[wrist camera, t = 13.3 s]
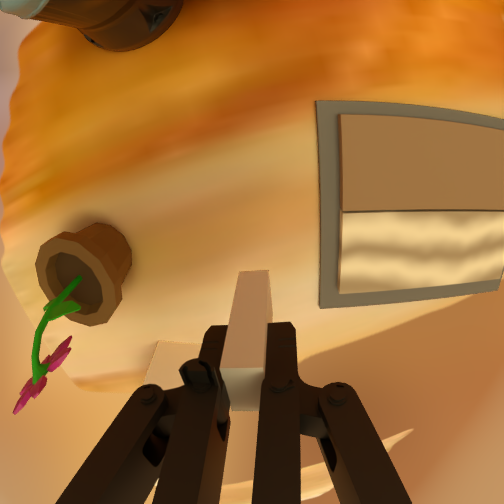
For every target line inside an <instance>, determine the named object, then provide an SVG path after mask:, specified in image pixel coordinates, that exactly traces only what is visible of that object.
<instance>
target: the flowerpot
mask: <svg viewBox="0 0 504 504" xmlns="http://www.w3.org/2000/svg"><path fill="white" fill-rule="evenodd" d="M131 265H132V258H131V249H130V247H129V245H128V243H127V241H126V239H125V237H124V236H123V235H122V234H121V233H120V232H118V231H117V230H116V229H115V228H113V227H112V226H111V225H106V224H100V223H95V224H93V225H91V226H89V227H87V228H85V229H83V230H81V231H79V232H77V233H70V232H65V231H64V232H62V233H60V234H58V235H57V236H55V237H53V238H51V239H49V240H48V241H47V242H45V243H44V244H43V245H41V246H40V250H39V253H38V256H37V259H36V262H35V266H36V271H37V276H38V281H39V285H40V287H41V289H42V290H43V292H44V293H45V295H46V297H47V298H48V300H49V301H50V302H49V303H48V304H47V305H46V306H45V307H44V308H43V309H44V312H45V311H46V312H45V314H44V316H43V318H42V320H41V322H40V323H39V325H38V327H37V329H36V331H35V337H34V343H33V350H32V370H33V377H32V378H30V379H29V380H28V381H27V383H26V384H25V386H24V387H23V389H22V391H21V392H20V395H22V396H21V397H20V399H19V400H18V401H17V404H16V406H15V408H14V411H13V414H17V413H18V412H19V411H20V410H21V409H22V408H23V407H24V406H25V404H26V403H27V401H28V400H29V398H30V397H31V396H32V397H33V398H34V399H35V398H36V397H37V396H38V395H39V394H40V392H41V391H42V389H43V388H44V387H45V386H46V382H47V378H46V377H45V375H46V374H47V372H48V371H49V372H53V371H54V370H55V369H56V368H57V367H59V366H60V365H61V364H62V362H63V361H64V359H65V358H66V357H67V355H68V354H69V352H70V351H71V348H70V347H69V348H67V347H68V346H69V343H70V341H71V339H72V336H69V337H68V338H67V339H66V340H65V341H63V342H62V343H61V344H60V345H59V346H58V348H57V349H56V350H55V351H54V353H53V354H52V355H51V356H50V355H48V356H47V357H46V359H45V360H44V361H43V362H42V363H41V364H40V361H39V351H40V344H41V337H42V334H43V331H44V329H45V327H46V325H47V323H48V321H51V320H54V319H56V318H59V317H61V316H63V315H64V316H66V317H67V318H68V319H69V320H71V321H74V322H77V323H80V324H84V325H87V326H95V325H99V324H103V323H107V322H108V320H109V319H110V317H111V316H112V314H113V313H114V311H115V310H116V308H117V307H118V305H119V304H120V302H121V300H122V291H121V285H122V283H123V281H124V279H125V277H126V275H127V273H128V271H129V269H130V267H131Z"/></svg>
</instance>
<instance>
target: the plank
mask: <svg viewBox="0 0 504 504" xmlns="http://www.w3.org/2000/svg"><path fill="white" fill-rule="evenodd" d="M503 267H504V210H484V209H411V210H363V211H342V209H340V231H339V261H338V281H337V288H338V291H339V294H348V293H362V292H376V291H388V290H400V289H411V288H422V287H432V286H442V285H451V284H461V283H469V282H478V281H486V280H494V279H500V277H501V274H502V270H503Z"/></svg>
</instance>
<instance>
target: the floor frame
mask: <svg viewBox="0 0 504 504" xmlns="http://www.w3.org/2000/svg"><path fill="white" fill-rule="evenodd" d="M315 102H316V116H317V133H318V153H319V180H320V293H319V307H320V309H326V308H341V307H355V306H368V305H380V304H391V303H402V302H411V301H421V300H430V299H439V298H447V297H455V296H462V295H470V294H477V293H484V292H491V291H497V290H498V288H499V285H500V281H501V278H502V275H503V271H504V267H503V270H502V274H501V277H500V279H494V280H486V281H478V282H469V283H461V284H451V285H442V286H432V287H422V288H411V289H400V290H388V291H376V292H362V293H348V294H339V291H338V288H337V281H338V261H339V231H340V209H342V211H363V210H411V209H484V210H504V119H499V118H495V117H490V116H485V115H480V114H475V113H469V112H463V111H457V110H451V109H444V108H436V107H428V106H419V105H410V104H398V103H384V102H365V101H315Z"/></svg>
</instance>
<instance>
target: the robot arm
mask: <svg viewBox="0 0 504 504" xmlns="http://www.w3.org/2000/svg"><path fill="white" fill-rule="evenodd" d="M183 2H184V0H0V10H1V11H2V12H5V13H8V14H13V15H17V16H18V17H20V18H22V19H33V20H39V21H45V22H50V23H56V24H60V25H65V26H70V27H74V28H77V29H78V30H79V31H80V32H81V33H82V34H83V35H84V36H85V38H86V39H87V40H88V41H89V42H91V43H92V44H93V45H95V46H97V47H100V48H103V49H107V50H111V51H129V50H133V49H137V48H140V47H142V46H144V45H146V44H148V43H150V42H152V41H153V40H155V39H156V38H158V37H159V36H160V35H161V34H163V33H164V32H165V31H166V30H167V29H168V28H169V27H170V26H171V24H172V23H173V22H174V20H175V19H176V17H177V16H178V14H179V12H180V10H181V8H182V5H183ZM272 317H273V311H272V300H271V290H270V280H269V270H260V271H244V272H239V276H238V280H237V285H236V290H235V295H234V300H233V305H232V309H231V314H230V319H229V324H228V325H213V326H211V327H210V328H209V329H208V330H207V331H206V333H205V335H204V338H203V343H202V345H201V350H200V353H199V356H198V358H194V359H191V360H188V361H186V362H185V363H184V364H182V365H181V367H180V369H179V373H180V375H181V378H182V380H183V383H184V385H182V386H180V387H177V388H173V389H168V390H163V389H162V388H161V387H160V386H158V385H156V384H146V385H143V386H141V387H139V388H138V389H137V390H136V391H135V392H134V393H133V394H132V396H131V397H130V398H129V400H128V401H127V403H126V404H125V405H124V407H123V408H122V410H121V411H120V412H119V414H118V415H117V417H116V418H115V419H114V421H113V422H112V424H111V425H110V426H109V428H108V429H107V431H106V432H105V433H104V435H103V436H102V438H101V439H100V441H99V442H98V443H97V445H96V446H95V448H94V449H93V450H92V452H91V453H90V455H89V456H88V457H87V459H86V460H85V462H84V463H83V465H82V466H81V467H80V469H79V470H78V472H77V473H76V475H75V476H74V477H73V479H72V480H71V482H70V483H69V485H68V486H67V487H66V489H65V490H64V492H63V493H62V495H61V496H60V498H59V499H58V500H57V502H56V503H55V504H144V502H145V501H146V499H147V497H148V495H149V494H150V492H151V490H152V488H153V486H154V485H155V483H156V482H157V480H158V483H157V486H156V491H155V494H154V498H153V502H152V504H219V500H220V493H221V486H222V479H223V472H224V465H225V458H226V451H227V443H228V436H229V429H230V417H229V409H230V406H231V410H232V411H259V421H258V434H257V446H256V458H255V470H254V481H253V493H252V504H301V466H300V464H301V462H300V434H302V435H307V436H312V437H316V439H317V442H318V444H319V447H320V450H321V452H322V455H323V458H324V461H325V463H326V466H327V469H328V471H329V474H330V477H331V480H332V482H333V485H334V488H335V490H336V493H337V496H338V498H339V501H340V504H412V502H411V500H410V498H409V496H408V494H407V492H406V490H405V488H404V486H403V483H402V481H401V479H400V477H399V476H398V473H397V471H396V469H395V467H394V466H393V463H392V461H391V459H390V457H389V455H388V453H387V451H386V449H385V447H384V445H383V443H382V442H381V440H380V438H379V436H378V434H377V432H376V430H375V428H374V426H373V424H372V422H371V420H370V418H369V416H368V414H367V412H366V411H365V408H364V407H363V405H362V403H361V401H360V399H359V397H358V395H357V393H356V391H355V390H354V389H353V388H352V387H351V386H350V385H348V384H346V383H341V382H336V383H330V384H328V385H326V386H324V387H323V388H318V387H314V386H310V385H308V384H306V383H304V382H303V381H302V380H301V379H300V377H299V375H298V368H297V347H296V329H295V328H294V326H293V325H292V323H291V322H277V323H272ZM158 478H159V479H158Z"/></svg>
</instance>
